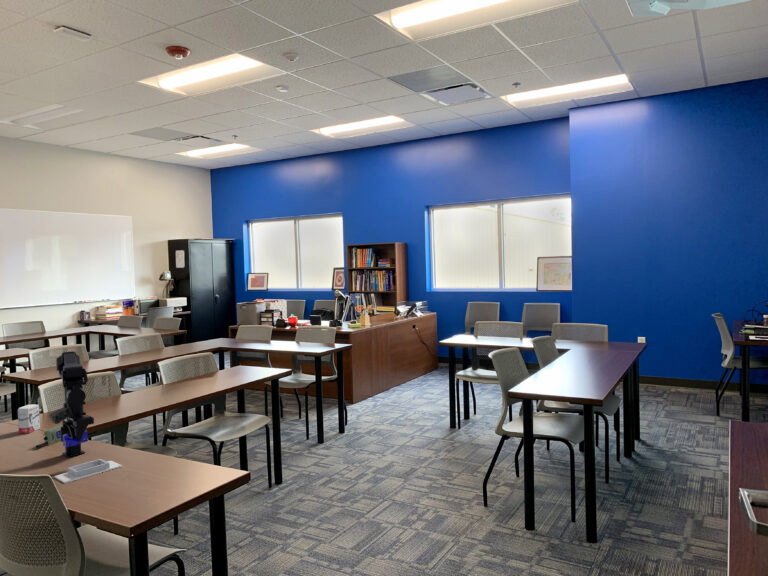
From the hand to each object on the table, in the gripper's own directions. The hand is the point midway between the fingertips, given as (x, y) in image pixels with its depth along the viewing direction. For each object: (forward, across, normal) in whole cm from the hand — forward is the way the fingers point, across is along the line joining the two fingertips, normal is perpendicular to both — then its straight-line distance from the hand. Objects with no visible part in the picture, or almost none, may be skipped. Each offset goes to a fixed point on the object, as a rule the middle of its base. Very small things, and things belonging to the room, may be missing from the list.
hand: (76, 440), depth 213 cm
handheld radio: (+10, -42, +9) cm, 45 cm away
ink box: (+10, -70, +6) cm, 71 cm away
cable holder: (+1, 0, 0) cm, 1 cm away
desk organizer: (+10, +10, 0) cm, 14 cm away
